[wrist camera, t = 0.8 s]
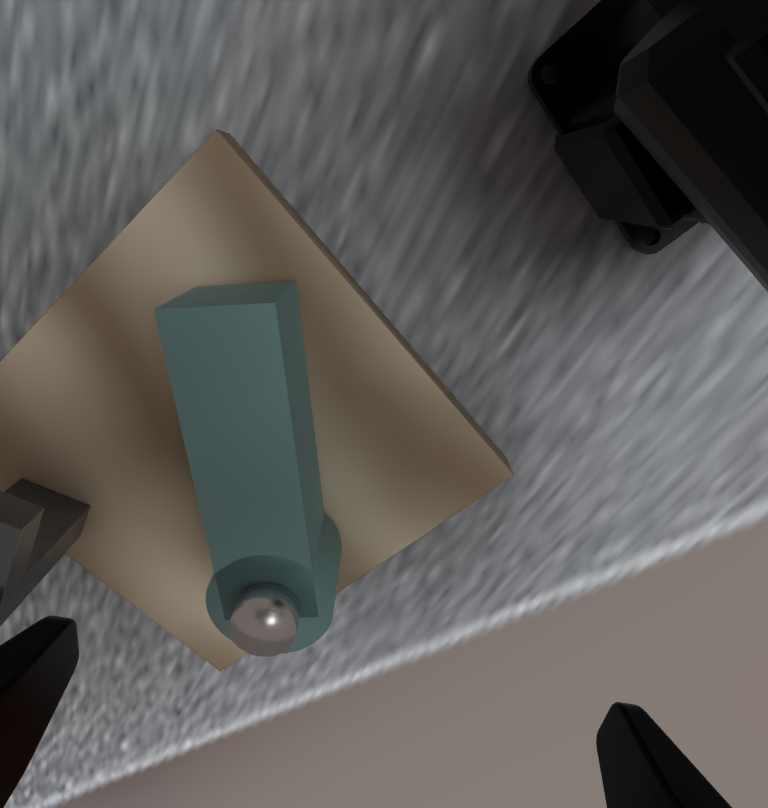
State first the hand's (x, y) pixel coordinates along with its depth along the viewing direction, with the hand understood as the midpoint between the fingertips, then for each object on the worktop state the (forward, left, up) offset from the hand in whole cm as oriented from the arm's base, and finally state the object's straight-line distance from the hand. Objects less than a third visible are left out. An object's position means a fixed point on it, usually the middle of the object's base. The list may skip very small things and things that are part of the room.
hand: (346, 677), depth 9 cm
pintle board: (+5, -2, -11) cm, 12 cm away
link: (+3, -1, -9) cm, 10 cm away
